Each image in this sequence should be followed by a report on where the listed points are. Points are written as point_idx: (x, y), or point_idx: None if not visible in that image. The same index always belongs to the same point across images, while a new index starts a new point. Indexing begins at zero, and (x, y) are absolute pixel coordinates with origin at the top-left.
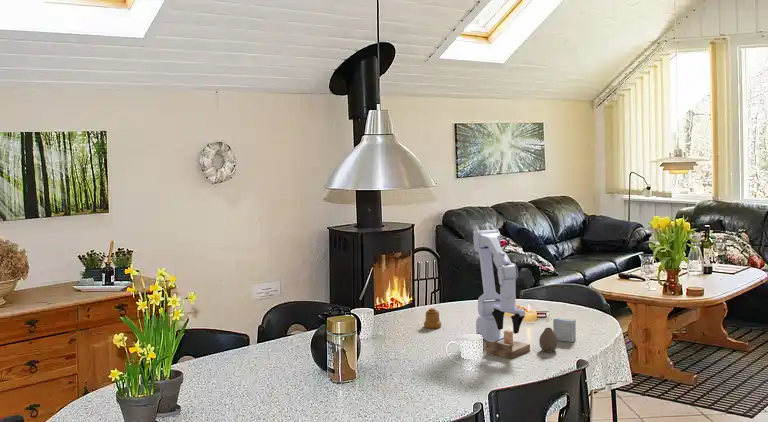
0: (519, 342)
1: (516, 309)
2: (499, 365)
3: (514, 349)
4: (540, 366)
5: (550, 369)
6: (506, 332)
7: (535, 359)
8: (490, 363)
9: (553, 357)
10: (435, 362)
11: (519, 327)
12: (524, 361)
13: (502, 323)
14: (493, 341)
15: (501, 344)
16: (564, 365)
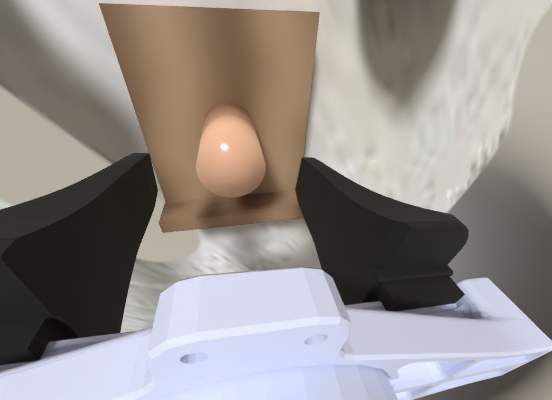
0: (238, 19)
1: (424, 386)
2: (294, 242)
3: (291, 161)
4: (408, 178)
5: (442, 181)
6: (237, 194)
7: (376, 128)
8: (263, 246)
9: (447, 47)
10: (145, 315)
11: (336, 175)
12: (345, 173)
13: (131, 177)
14: (199, 221)
15: (255, 221)
16: (490, 119)
